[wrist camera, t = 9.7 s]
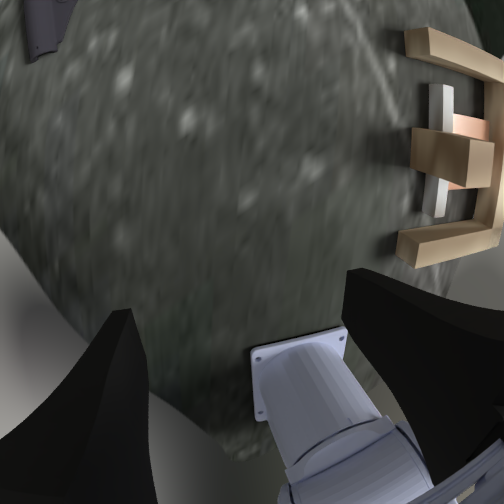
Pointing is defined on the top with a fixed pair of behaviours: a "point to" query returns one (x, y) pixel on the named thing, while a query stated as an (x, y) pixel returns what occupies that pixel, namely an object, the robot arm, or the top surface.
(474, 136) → the terracotta tile
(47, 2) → the bracket
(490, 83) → the tile rest
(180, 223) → the top surface
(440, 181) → the wood block with post
